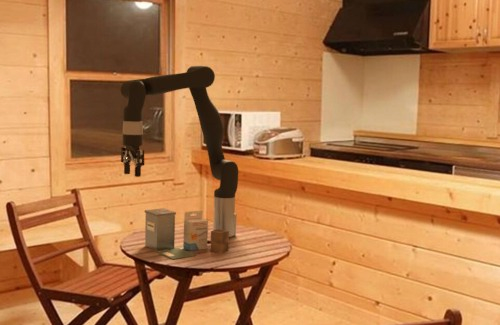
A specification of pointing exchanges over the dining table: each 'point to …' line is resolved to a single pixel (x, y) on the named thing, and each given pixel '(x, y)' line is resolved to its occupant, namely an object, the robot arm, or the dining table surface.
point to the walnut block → (219, 241)
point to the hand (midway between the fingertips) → (132, 175)
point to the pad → (175, 253)
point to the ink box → (195, 231)
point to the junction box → (160, 229)
